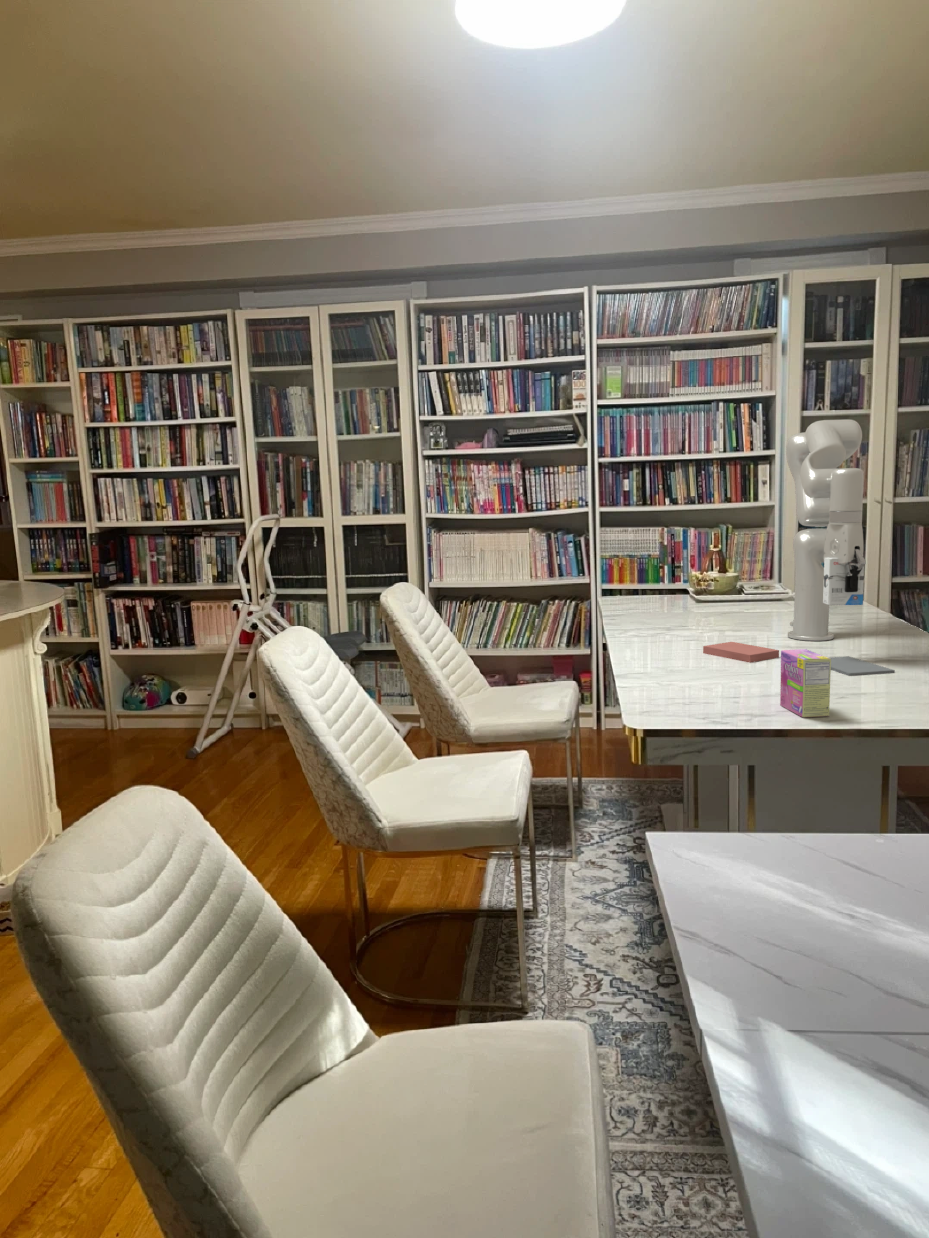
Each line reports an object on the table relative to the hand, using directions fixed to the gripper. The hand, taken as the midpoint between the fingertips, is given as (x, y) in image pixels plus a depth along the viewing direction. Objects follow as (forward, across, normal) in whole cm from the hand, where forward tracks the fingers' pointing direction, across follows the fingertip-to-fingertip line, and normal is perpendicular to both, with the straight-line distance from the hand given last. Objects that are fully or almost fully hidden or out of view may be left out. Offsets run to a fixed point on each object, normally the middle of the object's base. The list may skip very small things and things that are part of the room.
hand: (842, 590), depth 226 cm
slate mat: (+18, +6, -2) cm, 19 cm away
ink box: (+4, 0, 0) cm, 4 cm away
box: (+20, +40, -36) cm, 58 cm away
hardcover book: (+19, -16, -19) cm, 31 cm away
